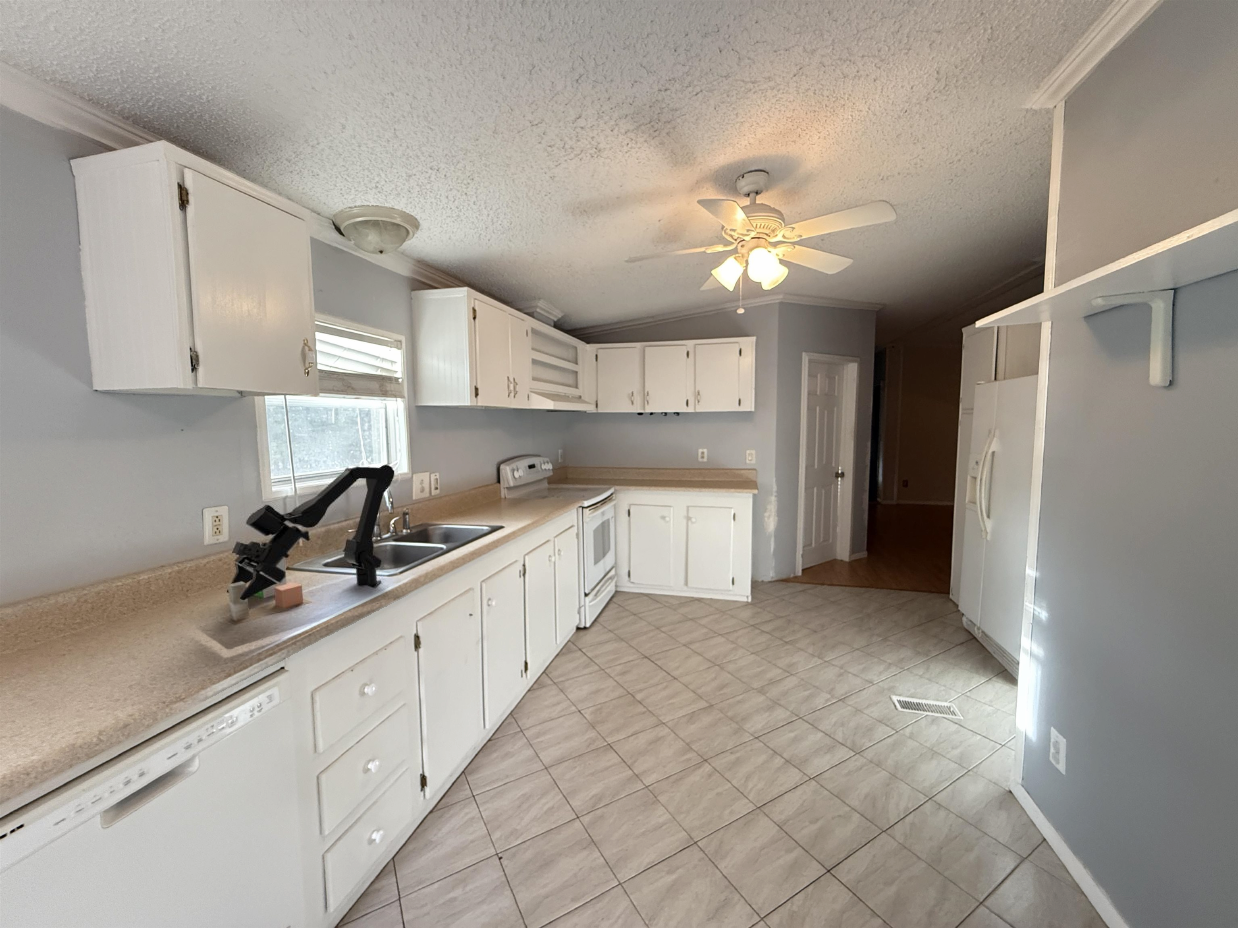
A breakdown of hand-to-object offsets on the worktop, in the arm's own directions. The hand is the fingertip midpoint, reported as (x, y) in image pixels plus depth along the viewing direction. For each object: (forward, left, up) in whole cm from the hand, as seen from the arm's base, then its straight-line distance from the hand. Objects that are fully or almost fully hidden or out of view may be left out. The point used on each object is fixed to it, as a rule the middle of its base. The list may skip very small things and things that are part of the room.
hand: (234, 596), depth 127 cm
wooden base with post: (-5, +5, -7) cm, 10 cm away
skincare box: (-20, -3, -8) cm, 22 cm away
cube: (-9, +8, -6) cm, 14 cm away
